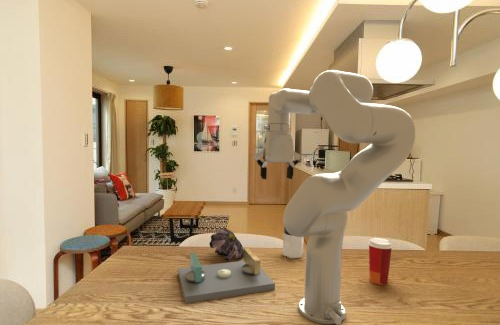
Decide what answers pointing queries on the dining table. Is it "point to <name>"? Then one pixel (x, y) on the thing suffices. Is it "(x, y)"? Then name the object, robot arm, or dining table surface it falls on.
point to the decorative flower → (226, 244)
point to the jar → (292, 245)
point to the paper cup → (379, 260)
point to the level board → (223, 282)
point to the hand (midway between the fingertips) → (276, 178)
